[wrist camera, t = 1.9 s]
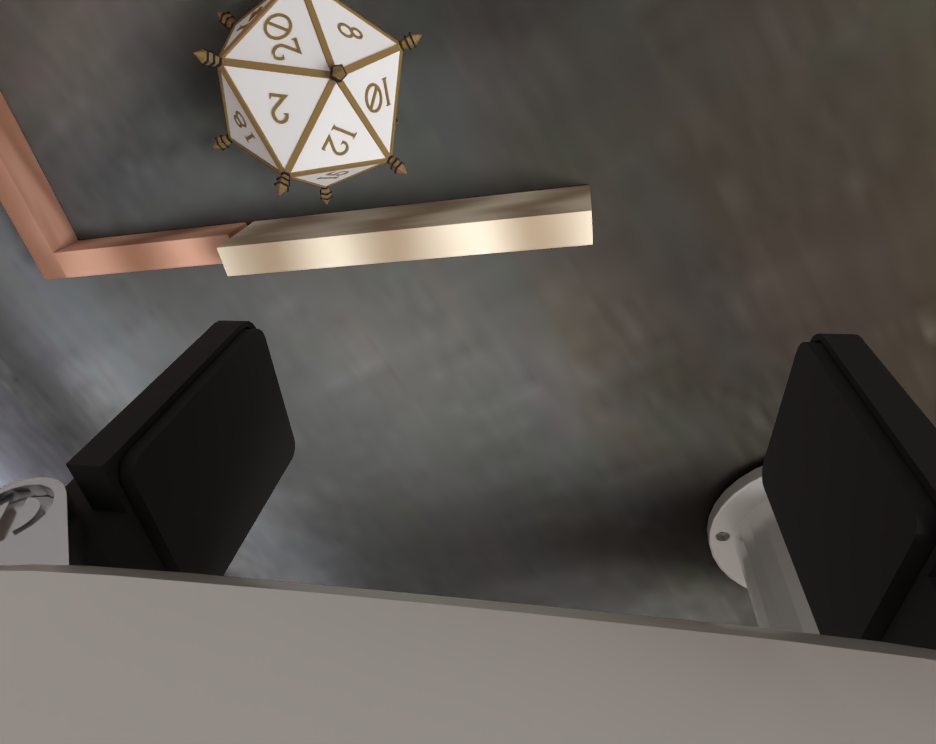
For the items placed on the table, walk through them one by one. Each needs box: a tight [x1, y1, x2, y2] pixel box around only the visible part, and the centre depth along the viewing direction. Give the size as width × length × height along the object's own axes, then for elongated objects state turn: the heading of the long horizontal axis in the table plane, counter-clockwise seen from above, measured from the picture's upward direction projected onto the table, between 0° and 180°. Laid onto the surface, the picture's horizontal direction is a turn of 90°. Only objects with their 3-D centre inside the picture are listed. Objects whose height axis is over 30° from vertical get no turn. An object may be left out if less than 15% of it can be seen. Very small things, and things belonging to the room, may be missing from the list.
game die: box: [194, 0, 422, 204], centre depth 24 cm, size 9×8×10 cm
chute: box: [0, 91, 593, 280], centre depth 26 cm, size 31×15×4 cm, turn 99°
